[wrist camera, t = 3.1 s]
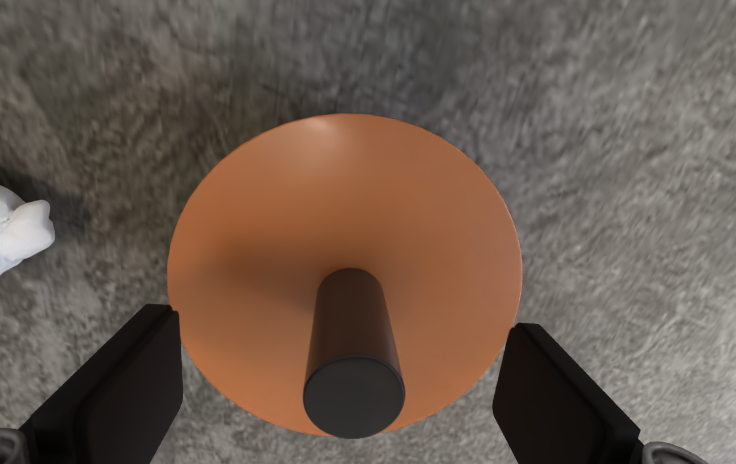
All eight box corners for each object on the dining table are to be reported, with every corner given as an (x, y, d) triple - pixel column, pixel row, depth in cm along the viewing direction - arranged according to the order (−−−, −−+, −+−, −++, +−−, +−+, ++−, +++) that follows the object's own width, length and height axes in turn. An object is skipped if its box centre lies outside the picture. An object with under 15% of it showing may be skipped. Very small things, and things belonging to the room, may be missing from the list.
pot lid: (544, 131, 13) (700, 148, 7) (478, 420, 17) (548, 581, 11) (169, 93, 12) (11, 77, 6) (186, 412, 16) (97, 585, 10)
